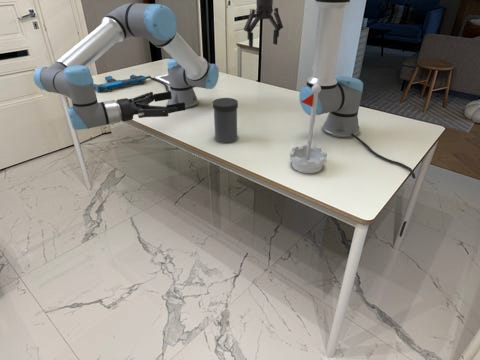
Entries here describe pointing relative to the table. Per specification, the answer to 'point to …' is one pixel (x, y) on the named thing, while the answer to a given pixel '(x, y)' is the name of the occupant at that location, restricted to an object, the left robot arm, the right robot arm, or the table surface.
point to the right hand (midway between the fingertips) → (263, 45)
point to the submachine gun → (119, 82)
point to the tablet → (164, 78)
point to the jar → (225, 126)
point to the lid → (225, 104)
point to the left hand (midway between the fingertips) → (177, 100)
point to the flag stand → (309, 143)
